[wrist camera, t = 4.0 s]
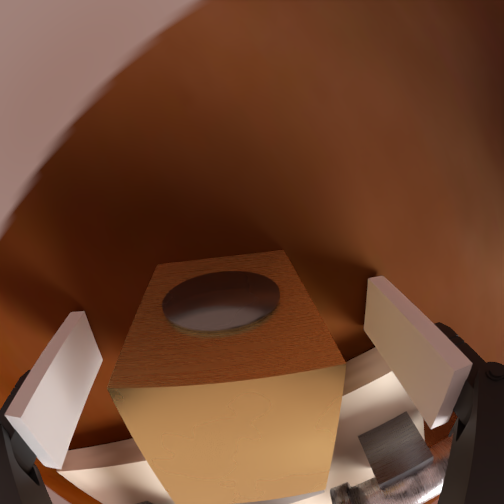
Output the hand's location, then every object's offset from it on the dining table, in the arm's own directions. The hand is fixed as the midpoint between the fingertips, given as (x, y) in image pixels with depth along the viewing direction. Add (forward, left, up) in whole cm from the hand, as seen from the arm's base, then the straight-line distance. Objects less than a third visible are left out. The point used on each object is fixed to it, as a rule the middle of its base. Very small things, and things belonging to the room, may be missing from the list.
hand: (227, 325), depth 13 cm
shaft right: (-5, +12, +2) cm, 13 cm away
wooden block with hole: (0, 0, 0) cm, 0 cm away
